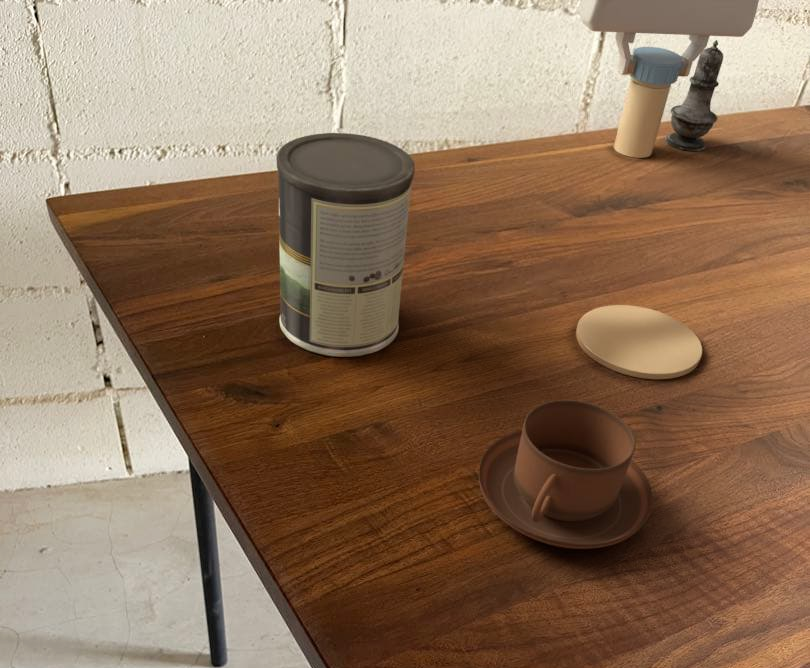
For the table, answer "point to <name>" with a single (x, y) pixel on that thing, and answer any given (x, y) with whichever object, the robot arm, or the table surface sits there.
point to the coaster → (639, 342)
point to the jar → (641, 118)
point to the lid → (656, 65)
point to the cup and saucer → (568, 477)
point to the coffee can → (342, 241)
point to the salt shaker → (697, 104)
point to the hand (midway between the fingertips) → (652, 74)
